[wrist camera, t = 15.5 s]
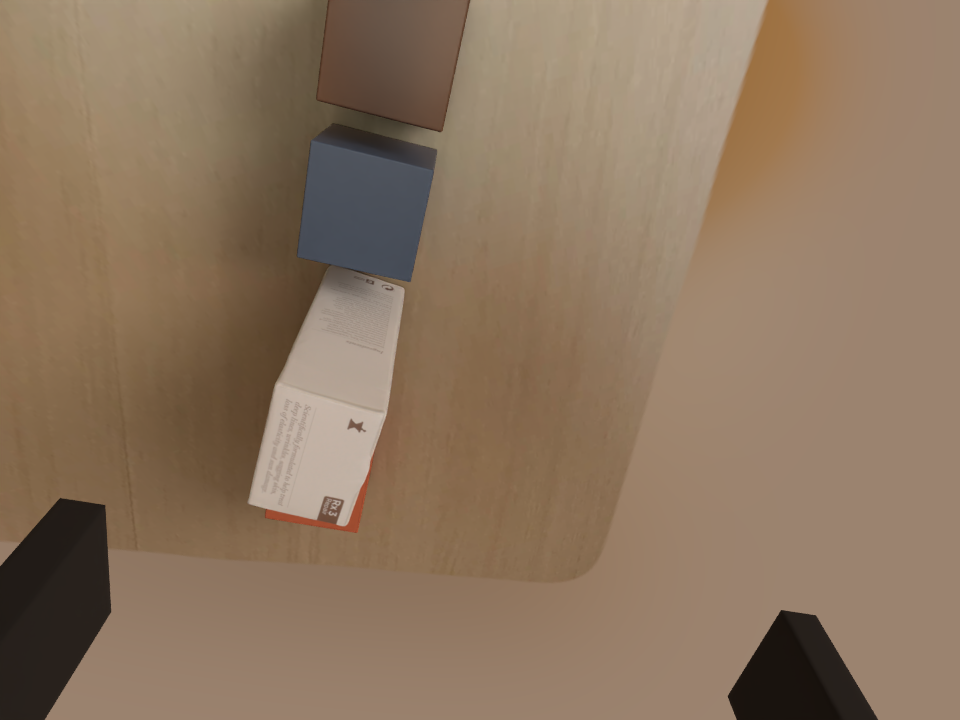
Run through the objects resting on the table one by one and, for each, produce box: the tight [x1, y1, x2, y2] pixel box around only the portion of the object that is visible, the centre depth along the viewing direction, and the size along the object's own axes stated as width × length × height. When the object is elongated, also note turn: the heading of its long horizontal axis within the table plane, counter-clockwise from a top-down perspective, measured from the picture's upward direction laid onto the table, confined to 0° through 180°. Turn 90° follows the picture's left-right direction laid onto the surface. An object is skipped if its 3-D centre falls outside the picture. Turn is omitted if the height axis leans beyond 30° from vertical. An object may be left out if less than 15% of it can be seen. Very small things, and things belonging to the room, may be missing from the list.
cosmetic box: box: [248, 265, 404, 526], centre depth 29 cm, size 6×4×12 cm
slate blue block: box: [297, 124, 437, 282], centre depth 29 cm, size 5×5×5 cm
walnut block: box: [316, 0, 470, 132], centre depth 26 cm, size 5×5×5 cm
